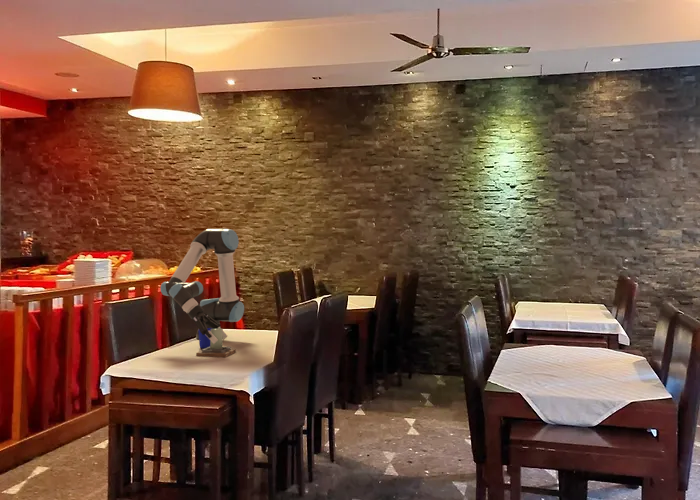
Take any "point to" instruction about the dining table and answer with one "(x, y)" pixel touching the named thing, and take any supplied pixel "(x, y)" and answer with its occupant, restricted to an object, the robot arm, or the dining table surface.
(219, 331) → the sleeve
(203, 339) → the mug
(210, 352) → the socket board
